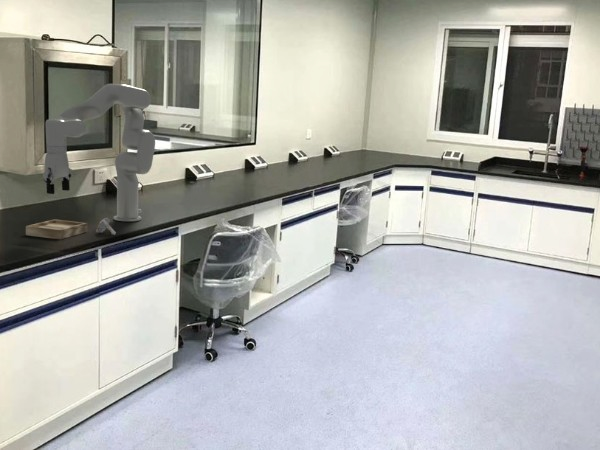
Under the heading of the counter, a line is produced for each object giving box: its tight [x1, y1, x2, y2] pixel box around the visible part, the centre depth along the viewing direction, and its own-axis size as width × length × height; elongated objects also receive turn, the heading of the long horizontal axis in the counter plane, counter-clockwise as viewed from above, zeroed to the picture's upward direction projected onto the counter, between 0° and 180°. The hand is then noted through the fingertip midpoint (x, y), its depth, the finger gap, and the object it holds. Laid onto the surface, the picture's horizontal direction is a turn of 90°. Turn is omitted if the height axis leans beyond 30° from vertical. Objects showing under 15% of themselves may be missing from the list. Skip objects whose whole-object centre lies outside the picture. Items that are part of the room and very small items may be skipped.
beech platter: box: [25, 219, 88, 240], centre depth 247 cm, size 18×16×4 cm
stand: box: [96, 217, 117, 236], centre depth 251 cm, size 8×5×8 cm
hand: (58, 191), depth 245 cm, fingers open, 9 cm apart
